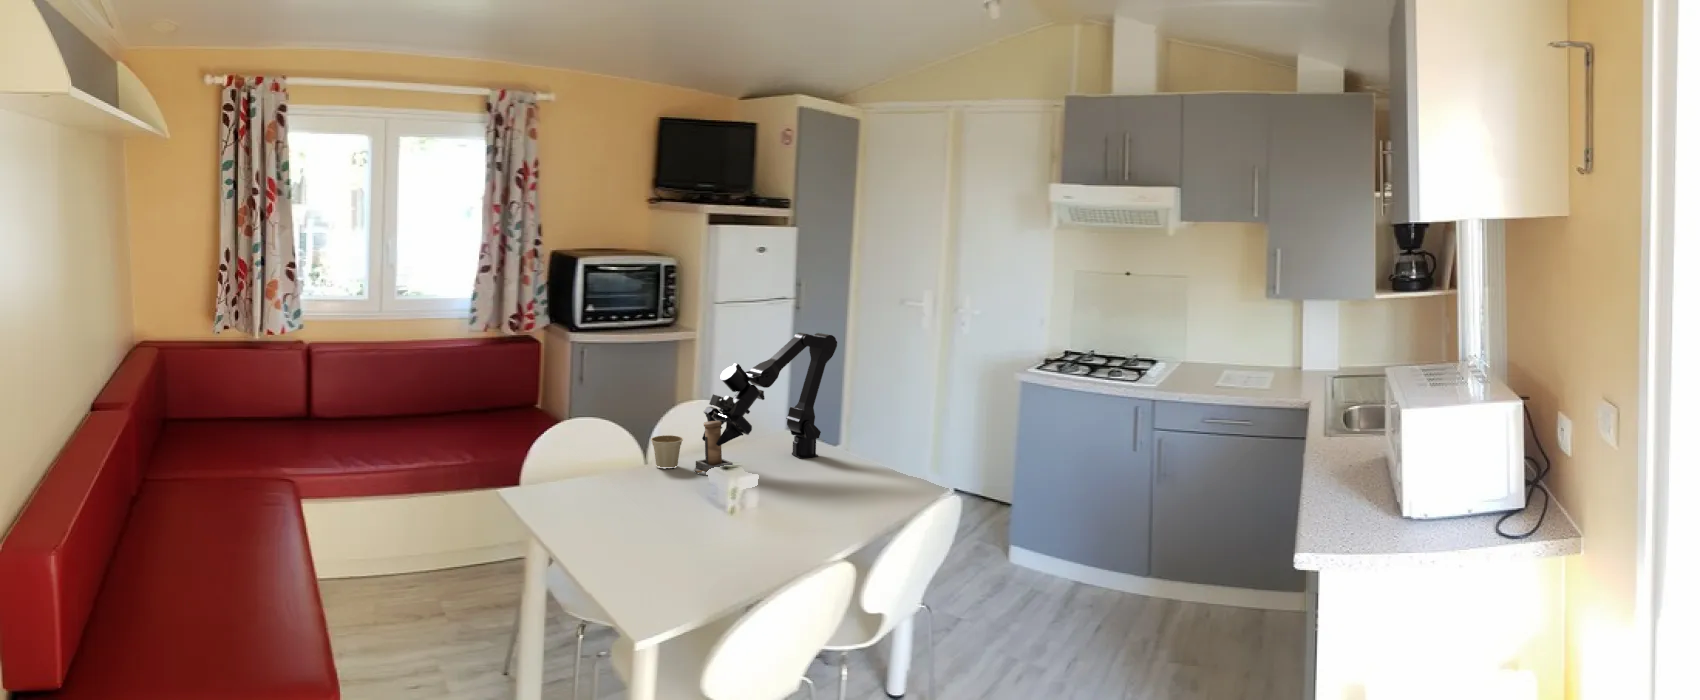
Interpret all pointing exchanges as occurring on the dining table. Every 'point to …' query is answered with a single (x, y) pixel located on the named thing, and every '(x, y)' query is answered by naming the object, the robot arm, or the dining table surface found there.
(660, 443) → the flower pot
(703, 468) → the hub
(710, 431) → the brown tapered domed piece
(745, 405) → the robot arm
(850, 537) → the dining table surface
